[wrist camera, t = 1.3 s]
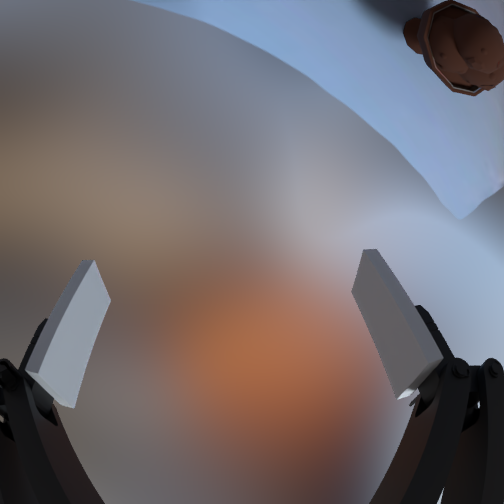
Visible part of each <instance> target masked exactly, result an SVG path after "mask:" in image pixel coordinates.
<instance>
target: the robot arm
mask: <svg viewBox="0 0 504 504" xmlns="http://www.w3.org/2000/svg"><path fill="white" fill-rule="evenodd" d="M352 294H353V296H354V298H355V300H356V303H357V305H358V307H359V309H360V311H361V314H362V315H363V318H364V320H365V322H366V325H367V327H368V329H369V332H370V334H371V336H372V338H373V341H374V343H375V346H376V348H377V350H378V353H379V355H380V358H381V360H382V363H383V365H384V367H385V370H386V373H387V375H388V378H389V380H390V383H391V386H392V389H393V391H394V394H395V397H396V399H400V398H403V397H406V396H409V395H411V394H412V393H413V392H414V391H415V390H416V389H417V388H418V390H419V392H420V394H419V395H418V396H417V397H416V398H415V399H414V400H413V401H412V402H411V403H410V405H409V406H412V405H413V404H414V403H415V406H414V409H413V411H412V414H411V417H410V420H409V423H408V425H407V428H406V430H405V433H404V436H403V438H402V440H401V443H400V445H399V447H398V449H397V452H396V454H395V456H394V458H393V460H392V462H391V464H390V467H389V469H388V471H387V473H386V474H385V477H384V478H383V480H382V482H381V484H380V486H379V488H378V489H377V491H376V493H375V495H374V496H373V498H372V500H371V502H370V503H369V504H437V502H438V500H439V497H440V495H441V493H442V490H443V488H444V490H443V495H442V499H441V504H504V370H503V367H502V365H501V364H500V363H499V362H498V361H497V360H496V359H494V358H489V359H487V360H486V361H485V362H484V363H483V364H482V365H481V366H469V365H468V364H467V363H466V361H464V360H462V359H461V358H455V357H454V355H453V354H452V352H451V350H450V348H449V346H448V345H447V343H446V341H445V339H444V338H443V336H442V334H441V333H440V331H439V330H438V327H437V325H436V324H435V323H434V320H433V319H432V317H431V316H430V314H429V312H428V311H426V310H425V309H424V308H423V307H422V306H421V305H417V306H414V305H413V303H412V301H411V300H410V298H409V296H408V295H407V293H406V292H405V290H404V289H403V287H402V286H401V284H400V283H399V281H398V279H397V278H396V276H395V275H394V274H393V272H392V271H391V269H390V268H389V266H388V265H387V263H386V262H385V260H384V259H383V257H382V256H381V255H380V253H379V252H378V250H377V249H368V250H363V253H362V257H361V261H360V264H359V268H358V271H357V275H356V278H355V282H354V285H353V288H352ZM110 301H111V300H110V297H109V296H108V293H107V291H106V288H105V286H104V283H103V281H102V279H101V276H100V273H99V271H98V268H97V266H96V263H95V261H94V260H82V262H81V263H80V265H79V266H78V268H77V270H76V271H75V273H74V274H73V276H72V278H71V279H70V281H69V283H68V284H67V286H66V288H65V289H64V291H63V293H62V295H61V296H60V298H59V300H58V302H57V304H56V306H55V307H54V309H53V311H52V313H51V315H50V317H49V318H48V319H44V321H43V322H42V323H41V324H40V325H39V326H38V328H37V330H36V332H35V334H34V337H33V338H32V340H31V344H30V345H29V346H28V349H27V351H26V353H25V355H24V358H23V360H22V362H21V365H20V367H19V369H18V370H17V369H16V368H15V367H14V365H13V364H12V363H11V362H10V361H9V360H8V359H4V358H3V359H0V415H1V416H2V417H3V418H4V421H3V423H2V422H1V421H0V504H105V503H104V502H103V500H102V499H101V497H100V496H99V494H98V492H97V491H96V489H95V488H94V486H93V484H92V483H91V481H90V479H89V478H88V476H87V474H86V472H85V471H84V469H83V467H82V465H81V463H80V461H79V459H78V457H77V455H76V453H75V451H74V449H73V447H72V445H71V443H70V441H69V439H68V436H67V434H66V432H65V429H64V427H63V425H62V422H61V420H60V417H59V415H58V412H57V409H56V407H55V406H54V404H53V400H54V399H55V400H56V401H57V402H58V403H60V404H61V405H64V406H67V407H71V408H74V407H75V404H76V400H77V396H78V393H79V389H80V386H81V382H82V379H83V376H84V372H85V369H86V366H87V363H88V360H89V357H90V354H91V351H92V348H93V345H94V343H95V340H96V337H97V334H98V331H99V329H100V326H101V324H102V321H103V319H104V316H105V313H106V311H107V308H108V306H109V304H110ZM479 401H480V408H478V402H479Z"/></svg>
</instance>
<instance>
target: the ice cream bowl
mask: <svg viewBox="0 0 504 504" xmlns="http://www.w3.org/2000/svg"><path fill="white" fill-rule="evenodd" d="M403 34H404V37H405V39H406V42H407V45H408V46H409V47H410V48H411V49H412V50H414V51H415V52H416V53H417V54H423V57H424V61H425V62H426V64H427V66H428V67H429V68H430V69H431V70H432V71H433V72H434V73H435V74H436V75H437V76H438V77H439V78H440V79H441V81H442V82H443V83H444V84H445V85H446V86H447V87H448V88H449V89H450V90H451V91H452V92H457V93H462V94H466V95H471V96H476V95H478V94H479V93H481V92H482V91H483V90H487V91H489V90H491V89H493V88H494V87H495V86H496V85H498V84H499V83H500V82H502V81H503V80H504V43H503V39H502V36H501V35H500V33H499V31H498V29H497V28H496V27H495V26H493V25H492V24H491V23H490V22H489V21H488V20H487V19H485V18H484V17H482V16H481V15H479V14H478V12H477V11H476V10H475V9H473V8H470V7H468V6H466V5H463V4H461V3H458V2H456V1H453V0H448V1H444V2H442V3H440V4H438V5H436V6H434V7H432V8H430V9H428V10H426V11H424V13H423V14H422V18H421V19H419V18H413V19H411V20H409V21H408V22H406V24H405V28H404V32H403Z"/></svg>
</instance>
